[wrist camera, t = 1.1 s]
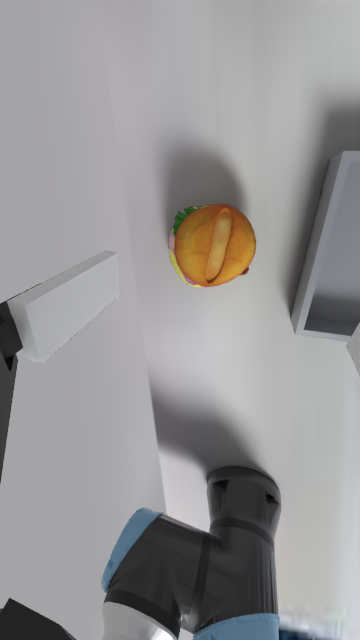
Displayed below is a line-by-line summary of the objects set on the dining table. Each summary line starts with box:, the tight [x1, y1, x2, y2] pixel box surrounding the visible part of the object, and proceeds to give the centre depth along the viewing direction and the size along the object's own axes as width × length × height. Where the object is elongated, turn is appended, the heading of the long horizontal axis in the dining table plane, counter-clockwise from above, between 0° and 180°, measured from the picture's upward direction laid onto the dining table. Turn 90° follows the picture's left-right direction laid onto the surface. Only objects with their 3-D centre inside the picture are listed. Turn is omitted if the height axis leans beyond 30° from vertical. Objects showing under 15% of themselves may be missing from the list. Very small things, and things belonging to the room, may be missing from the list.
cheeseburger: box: [169, 204, 256, 287], centre depth 30 cm, size 10×11×10 cm
